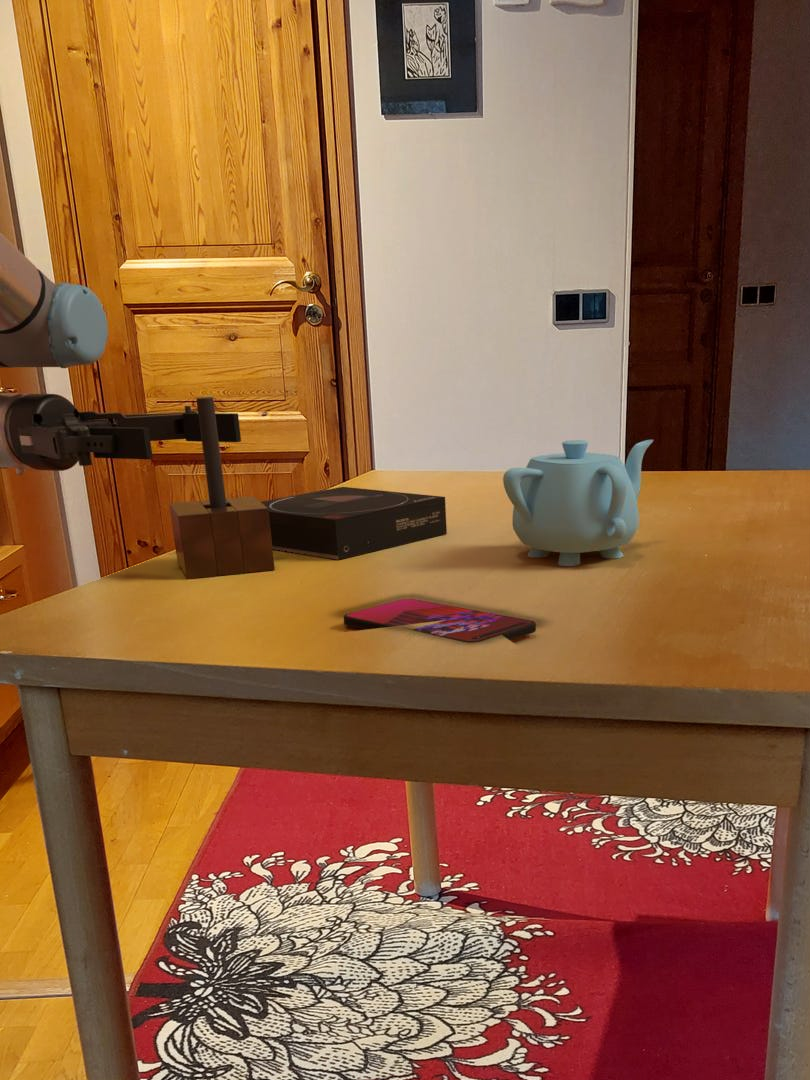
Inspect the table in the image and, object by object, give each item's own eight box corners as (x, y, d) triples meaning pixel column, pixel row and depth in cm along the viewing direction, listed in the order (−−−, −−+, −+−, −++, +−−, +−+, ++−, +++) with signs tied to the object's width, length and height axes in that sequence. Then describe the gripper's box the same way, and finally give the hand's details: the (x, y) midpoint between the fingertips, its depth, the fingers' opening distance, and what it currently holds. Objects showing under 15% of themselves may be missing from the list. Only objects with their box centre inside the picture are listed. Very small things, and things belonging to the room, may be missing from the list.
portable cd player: (342, 520, 141) (339, 486, 139) (446, 533, 130) (445, 496, 129) (233, 543, 130) (228, 506, 128) (338, 559, 119) (335, 519, 118)
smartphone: (407, 597, 99) (541, 621, 90) (408, 607, 100) (541, 632, 90) (337, 615, 94) (472, 643, 85) (338, 626, 95) (472, 655, 85)
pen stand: (186, 579, 113) (178, 515, 111) (177, 563, 121) (169, 503, 118) (274, 570, 116) (268, 508, 113) (260, 554, 123) (253, 496, 121)
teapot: (497, 571, 114) (493, 451, 109) (533, 536, 126) (532, 427, 121) (625, 577, 111) (627, 453, 105) (650, 540, 123) (654, 428, 117)
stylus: (219, 568, 117) (197, 398, 111) (216, 565, 119) (195, 397, 112) (235, 567, 118) (214, 397, 111) (232, 564, 119) (212, 396, 112)
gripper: (121, 454, 134) (273, 459, 125) (-55, 487, 114) (112, 495, 105) (110, 384, 131) (265, 384, 122) (-74, 404, 111) (97, 406, 102)
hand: (195, 435), depth 113 cm, fingers open, 13 cm apart
